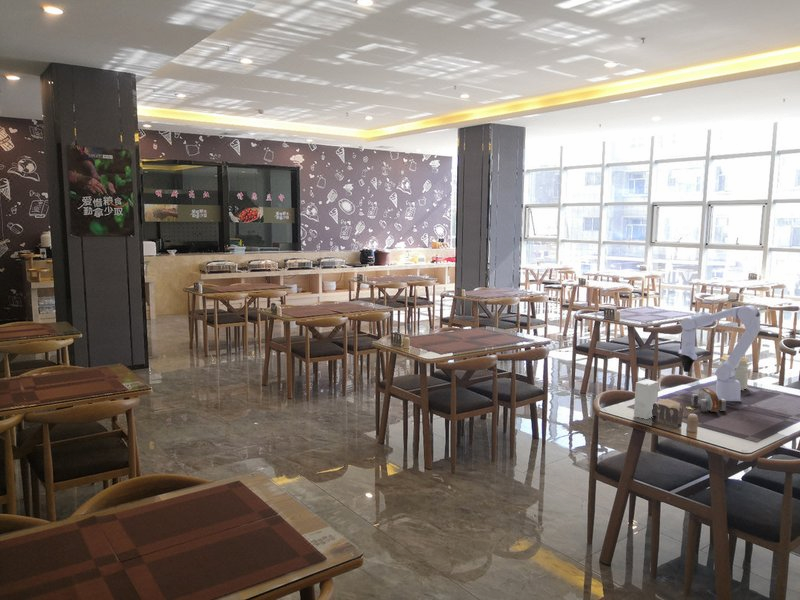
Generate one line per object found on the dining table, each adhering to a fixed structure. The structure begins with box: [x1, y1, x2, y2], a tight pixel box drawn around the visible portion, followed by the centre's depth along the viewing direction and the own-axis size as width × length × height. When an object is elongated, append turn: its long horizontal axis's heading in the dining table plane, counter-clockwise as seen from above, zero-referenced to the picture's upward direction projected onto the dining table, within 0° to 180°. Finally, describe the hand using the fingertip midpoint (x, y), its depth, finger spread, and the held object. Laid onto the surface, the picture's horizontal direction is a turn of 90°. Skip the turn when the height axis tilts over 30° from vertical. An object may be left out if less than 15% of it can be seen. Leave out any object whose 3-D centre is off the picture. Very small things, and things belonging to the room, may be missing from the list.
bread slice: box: [698, 387, 719, 413], centre depth 266 cm, size 15×3×8 cm, turn 175°
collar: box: [690, 393, 699, 407], centre depth 271 cm, size 10×2×5 cm, turn 92°
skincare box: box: [633, 378, 660, 420], centre depth 254 cm, size 8×6×15 cm
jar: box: [718, 354, 750, 391], centre depth 301 cm, size 13×13×18 cm
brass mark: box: [685, 406, 697, 411], centre depth 267 cm, size 4×4×1 cm
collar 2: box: [700, 399, 727, 413], centre depth 263 cm, size 10×2×5 cm, turn 92°
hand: (686, 371), depth 292 cm, fingers closed
